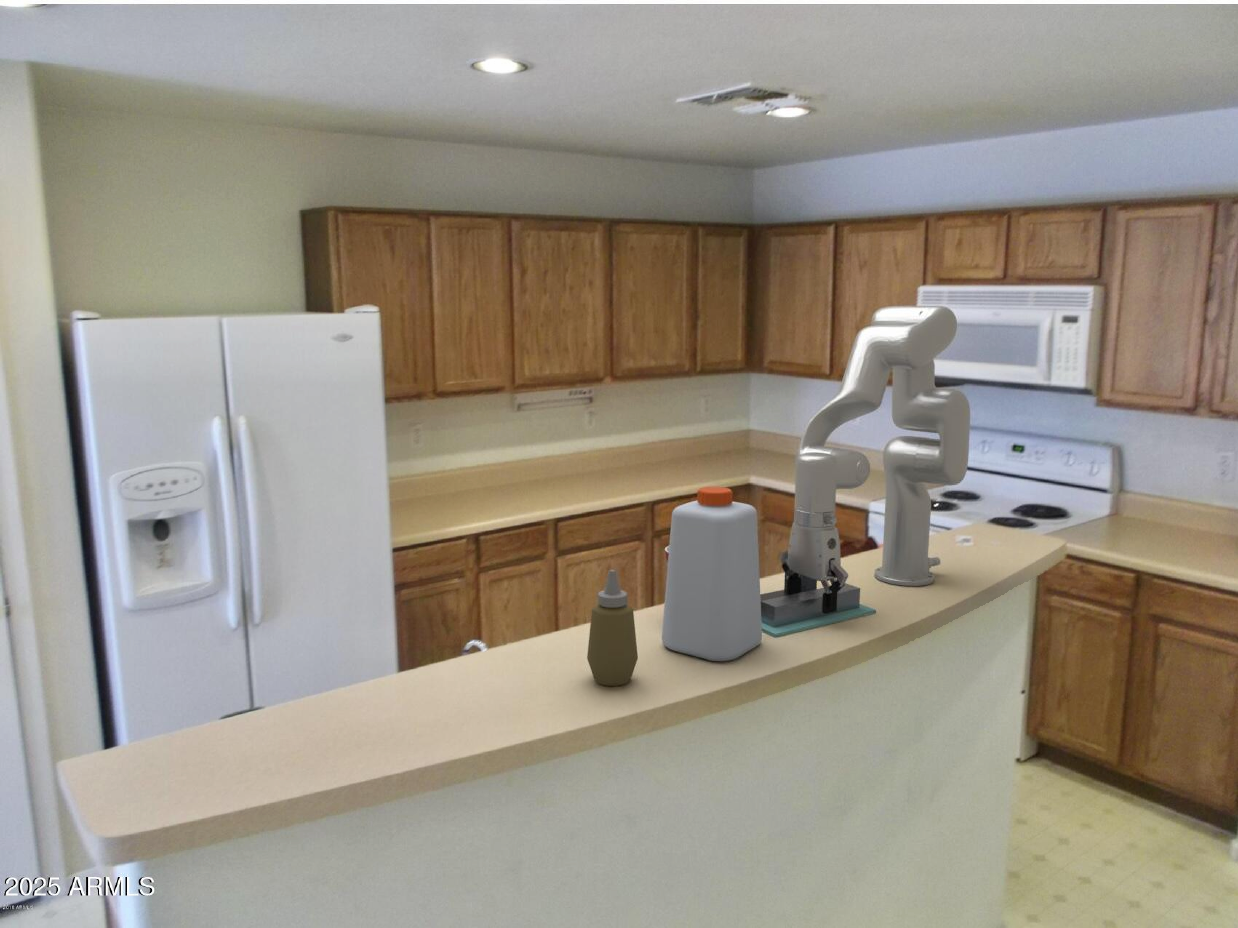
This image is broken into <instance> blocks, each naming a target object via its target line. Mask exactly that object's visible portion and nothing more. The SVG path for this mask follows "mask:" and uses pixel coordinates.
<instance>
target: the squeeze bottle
mask: <svg viewBox="0 0 1238 928" xmlns="http://www.w3.org/2000/svg"><path fill="white" fill-rule="evenodd" d="M605 583H606V584H605V587H604V589H603V590H601V591H599V592H598V593H597V604H596V605H595V606H593V608H592V609H591V615H590V625H589V637H588V646H587V655H586V656H587V657H586V659H587V663H588V665H589V667H590V671H591V674H592V677H593V679H594V682H595V683H597V684H600V685H603V686H605V687H606V686H608V687H617V686H623V685H626V684H628V683H629V682H630V681H631V679H632V677H633V673H634V671H635V667H636V664H637V662H638V659H639V655H638V654H639V653H638V646H637V635H636V626H635V625H636V624H635V617H634V616H635V615H634V609H633V607H632V606H631V605H630V604H628V593H627V592H626V590H622V589H621V586H620V580H619V577H618V572H617V570H616V569H610V570H608V573H607V578H606V582H605Z"/></svg>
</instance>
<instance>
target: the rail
mask: <svg viewBox="0 0 1238 928" xmlns="http://www.w3.org/2000/svg"><path fill="white" fill-rule="evenodd" d="M823 593H825V590H824V587H821V588H820V587H819V588H817V589H815V590H811V591H806V592H801V593H797V594H792V595H787V596H783V597H778V598H773V599H768V600H764V601H761V622H762V623H764V624H767V625H769V626H771V627H774V628H776V627H780V626H784V625H789V624H793V623H797V622H801V621H806V620H810V619H814V618H818V617H822V616H827V615H831V614H835V613H839V612H844V611H848V610H852V609H856V608H859V605H860V604H861V603H860V601H861V600H860V599H861V588H860V587H857V586H855V585H852V584H849V583H847V582H845V585H844V586H843V587H842V588H841V590H840V592H837V610H836V611H835V612H832V613H827V614H824V613H823V612H822V599H823Z"/></svg>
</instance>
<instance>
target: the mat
mask: <svg viewBox="0 0 1238 928" xmlns="http://www.w3.org/2000/svg"><path fill="white" fill-rule="evenodd" d="M876 613H877V609H875V608H872V607H870V606H867V605H865V604H862V603H860V605H859V608H856V609H852V610H848V611H844V612H839V613H835V614H831V615H827V616H822V617H818V618H814V619H810V620H806V621H801V622H797V623H793V624H789V625H784V626H780V627H776V628H774V627H771V626H769V625H767V624H764V623H762V633H765V634H766V635H769V636H771V637H774V638H777V637H781V636H785V635H790V634H794V633H797V632H802V631H805V630H809V629H815V628H819V627H822V626H827V625H830V624H835V623H839V622H843V621H848V620H851V619H855V618H860V617H864V616H868V615H872V614H876Z"/></svg>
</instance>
